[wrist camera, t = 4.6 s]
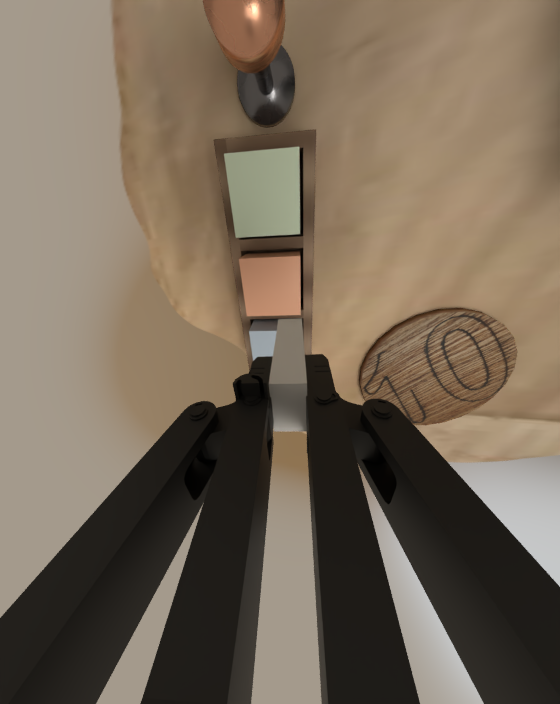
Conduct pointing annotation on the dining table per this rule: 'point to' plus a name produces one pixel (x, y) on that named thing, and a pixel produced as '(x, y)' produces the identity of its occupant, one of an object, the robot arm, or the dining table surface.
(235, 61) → the indicator lamp
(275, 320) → the slate button
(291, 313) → the terracotta button
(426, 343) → the trivet
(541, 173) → the dining table surface
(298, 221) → the sage button
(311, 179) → the button console
